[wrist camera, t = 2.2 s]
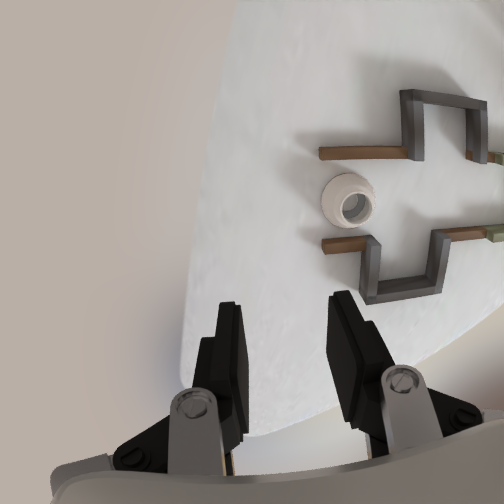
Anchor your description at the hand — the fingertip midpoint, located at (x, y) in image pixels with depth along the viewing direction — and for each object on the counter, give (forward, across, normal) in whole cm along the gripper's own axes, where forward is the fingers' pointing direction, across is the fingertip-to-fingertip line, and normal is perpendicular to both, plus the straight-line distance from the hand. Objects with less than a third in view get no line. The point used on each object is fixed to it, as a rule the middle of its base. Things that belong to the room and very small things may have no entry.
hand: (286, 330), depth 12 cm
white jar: (+18, -8, 0) cm, 19 cm away
